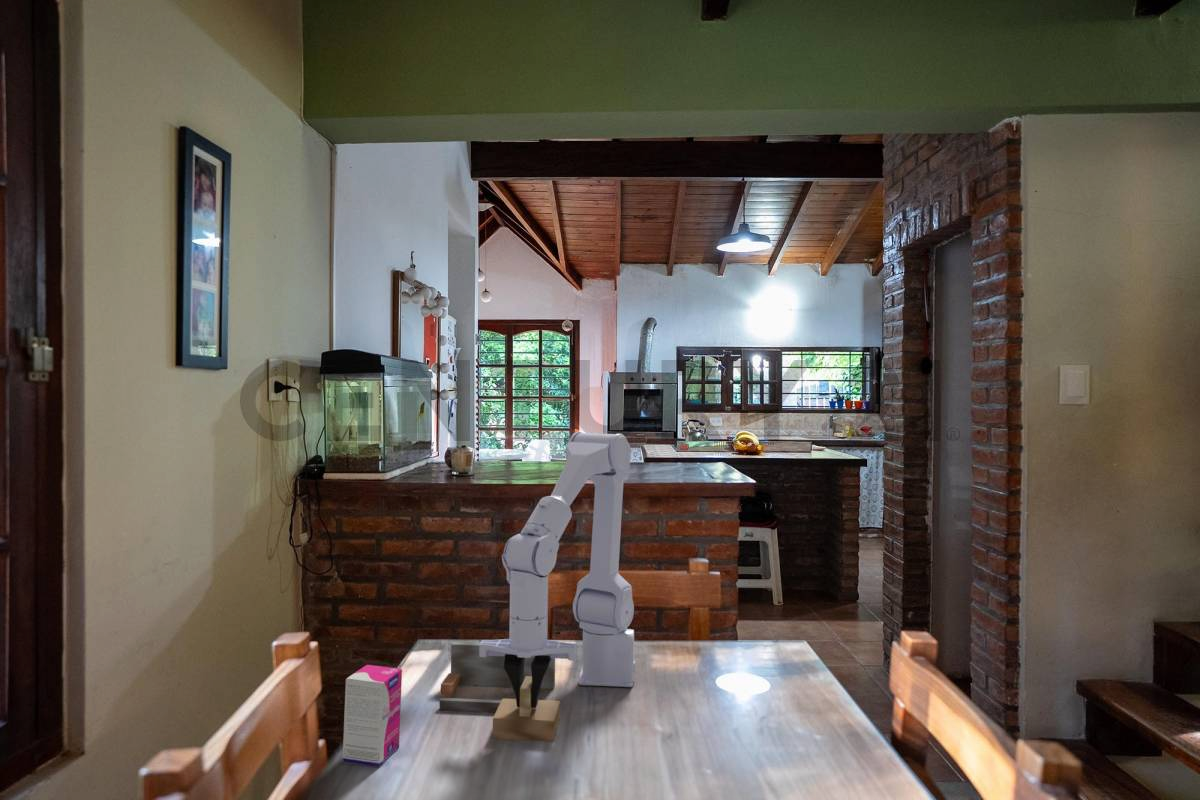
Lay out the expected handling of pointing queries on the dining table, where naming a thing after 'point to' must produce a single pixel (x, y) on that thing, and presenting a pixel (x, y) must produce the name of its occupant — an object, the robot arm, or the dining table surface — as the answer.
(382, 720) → the supplement box
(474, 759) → the dining table surface
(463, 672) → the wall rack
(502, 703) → the tan box with handle
